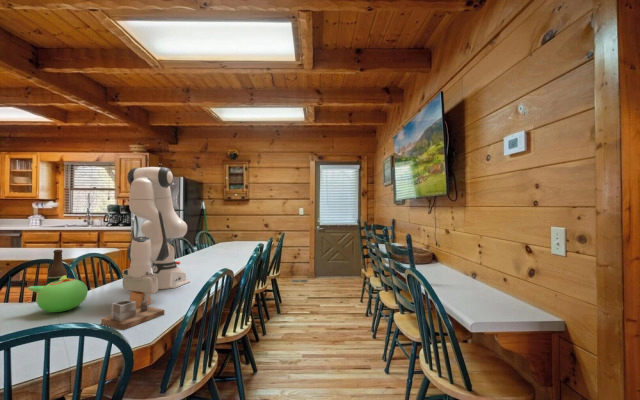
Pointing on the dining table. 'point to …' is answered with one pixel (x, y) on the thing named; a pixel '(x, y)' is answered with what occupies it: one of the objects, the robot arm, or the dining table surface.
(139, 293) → the terracotta sleeve
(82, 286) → the gravy boat
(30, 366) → the dining table surface
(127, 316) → the pin board
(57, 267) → the beer bottle
